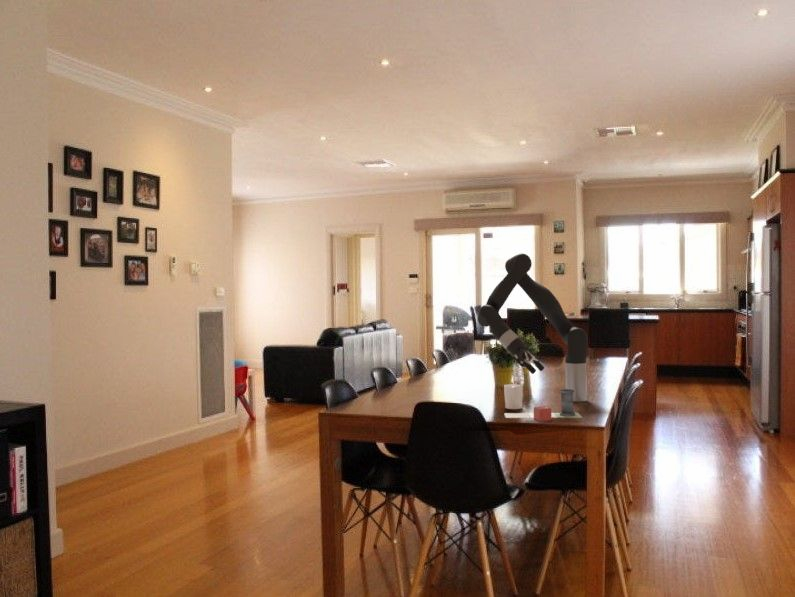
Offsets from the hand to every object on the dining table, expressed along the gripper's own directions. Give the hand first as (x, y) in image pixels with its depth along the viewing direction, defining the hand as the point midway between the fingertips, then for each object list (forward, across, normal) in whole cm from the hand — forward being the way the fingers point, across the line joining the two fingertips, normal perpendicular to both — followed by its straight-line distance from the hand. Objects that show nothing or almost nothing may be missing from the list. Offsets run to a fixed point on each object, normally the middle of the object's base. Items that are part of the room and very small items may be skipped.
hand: (538, 371), depth 279 cm
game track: (+15, +6, -10) cm, 19 cm away
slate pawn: (+20, 0, -4) cm, 21 cm away
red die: (+17, +14, -7) cm, 23 cm away
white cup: (+2, -5, -23) cm, 23 cm away
